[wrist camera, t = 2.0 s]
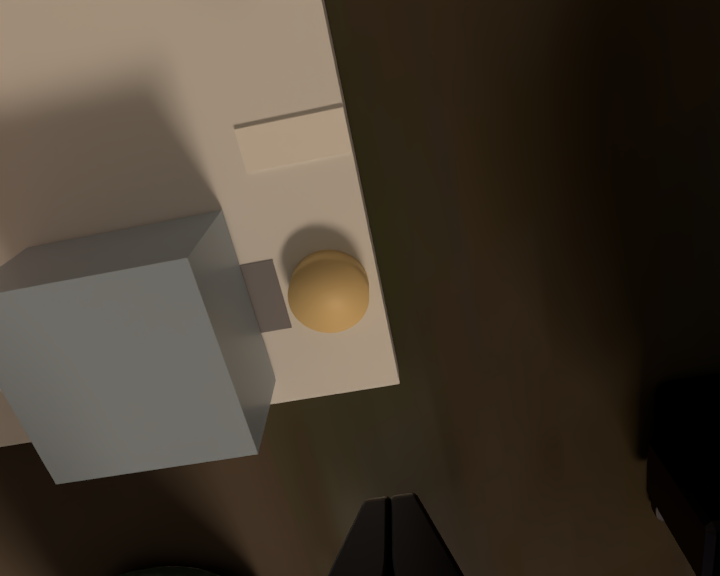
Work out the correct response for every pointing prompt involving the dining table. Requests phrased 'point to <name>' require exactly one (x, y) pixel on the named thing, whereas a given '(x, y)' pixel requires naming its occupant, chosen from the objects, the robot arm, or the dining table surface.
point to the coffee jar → (170, 571)
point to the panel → (200, 161)
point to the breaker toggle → (134, 350)
